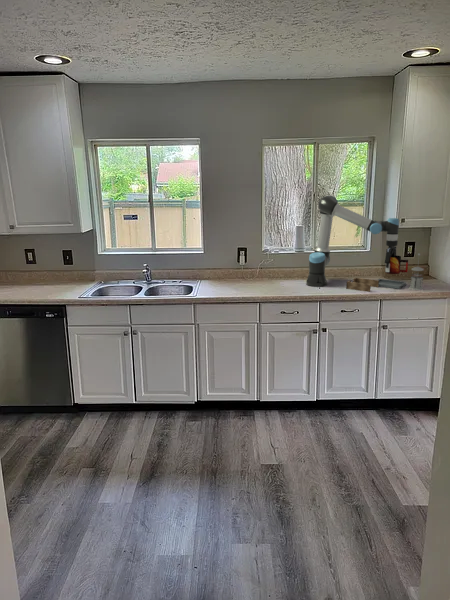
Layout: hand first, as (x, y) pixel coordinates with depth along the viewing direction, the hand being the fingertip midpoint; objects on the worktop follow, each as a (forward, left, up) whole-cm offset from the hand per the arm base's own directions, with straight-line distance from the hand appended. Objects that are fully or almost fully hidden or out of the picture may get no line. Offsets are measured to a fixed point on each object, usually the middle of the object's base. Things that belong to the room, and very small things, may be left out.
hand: (389, 270), depth 312 cm
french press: (+19, 0, -11) cm, 22 cm away
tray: (0, 0, -11) cm, 11 cm away
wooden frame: (-12, -18, -11) cm, 24 cm away
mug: (+4, +1, -1) cm, 4 cm away
